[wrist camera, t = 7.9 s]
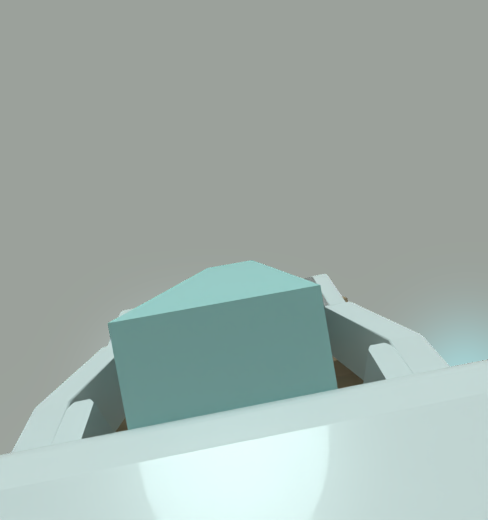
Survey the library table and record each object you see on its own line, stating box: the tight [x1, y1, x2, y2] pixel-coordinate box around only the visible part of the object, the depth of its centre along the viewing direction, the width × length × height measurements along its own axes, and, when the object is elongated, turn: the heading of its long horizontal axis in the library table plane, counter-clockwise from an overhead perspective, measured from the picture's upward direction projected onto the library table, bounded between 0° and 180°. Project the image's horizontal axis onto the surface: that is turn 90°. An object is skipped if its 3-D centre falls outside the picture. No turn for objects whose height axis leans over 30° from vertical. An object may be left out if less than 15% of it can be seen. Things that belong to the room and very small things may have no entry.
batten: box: [108, 260, 338, 430], centre depth 15 cm, size 4×20×3 cm, turn 2°
